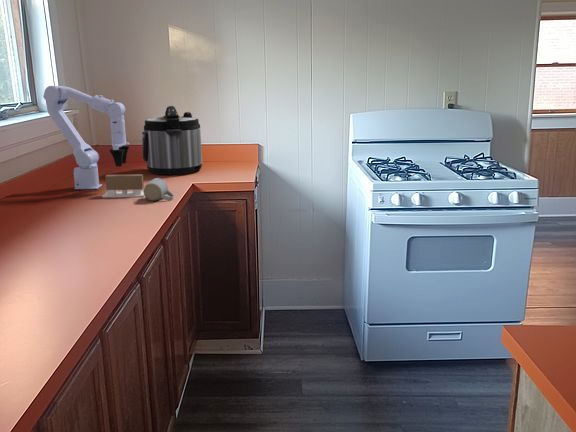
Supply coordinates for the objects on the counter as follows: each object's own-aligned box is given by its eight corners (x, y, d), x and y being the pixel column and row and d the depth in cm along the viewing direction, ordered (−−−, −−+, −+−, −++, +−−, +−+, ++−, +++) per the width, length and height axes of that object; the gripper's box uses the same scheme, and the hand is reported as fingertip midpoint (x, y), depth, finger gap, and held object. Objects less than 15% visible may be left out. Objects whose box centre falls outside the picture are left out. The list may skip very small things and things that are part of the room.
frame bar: (106, 189, 215) (105, 176, 213) (108, 188, 218) (107, 174, 216) (142, 189, 216) (141, 175, 214) (143, 187, 219) (142, 174, 217)
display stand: (102, 197, 213) (101, 191, 212) (107, 193, 221) (106, 187, 220) (143, 196, 214) (143, 190, 213) (147, 192, 222) (146, 186, 221)
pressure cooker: (166, 164, 288) (162, 103, 280) (213, 167, 278) (211, 104, 270) (131, 174, 261) (126, 107, 253) (183, 178, 251) (179, 108, 243)
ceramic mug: (143, 201, 206) (141, 181, 204) (149, 196, 214) (148, 177, 212) (170, 202, 206) (169, 182, 204) (176, 197, 214) (175, 178, 212)
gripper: (124, 134, 218) (126, 167, 221) (131, 130, 232) (134, 161, 235) (106, 134, 217) (109, 167, 221) (114, 130, 231) (117, 162, 235)
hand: (121, 164), depth 228 cm, fingers open, 7 cm apart
